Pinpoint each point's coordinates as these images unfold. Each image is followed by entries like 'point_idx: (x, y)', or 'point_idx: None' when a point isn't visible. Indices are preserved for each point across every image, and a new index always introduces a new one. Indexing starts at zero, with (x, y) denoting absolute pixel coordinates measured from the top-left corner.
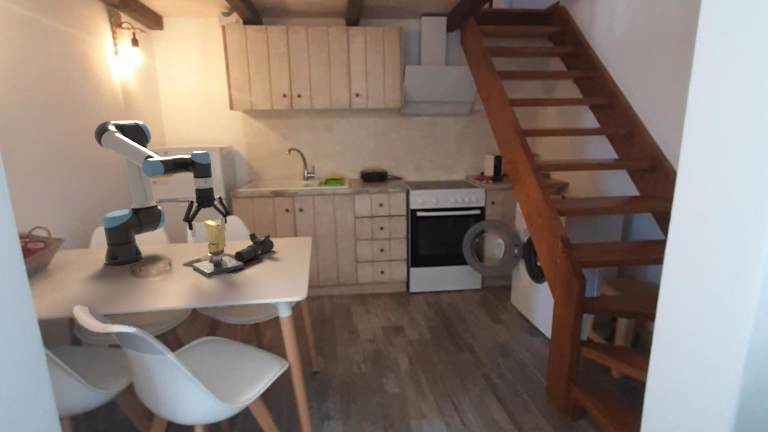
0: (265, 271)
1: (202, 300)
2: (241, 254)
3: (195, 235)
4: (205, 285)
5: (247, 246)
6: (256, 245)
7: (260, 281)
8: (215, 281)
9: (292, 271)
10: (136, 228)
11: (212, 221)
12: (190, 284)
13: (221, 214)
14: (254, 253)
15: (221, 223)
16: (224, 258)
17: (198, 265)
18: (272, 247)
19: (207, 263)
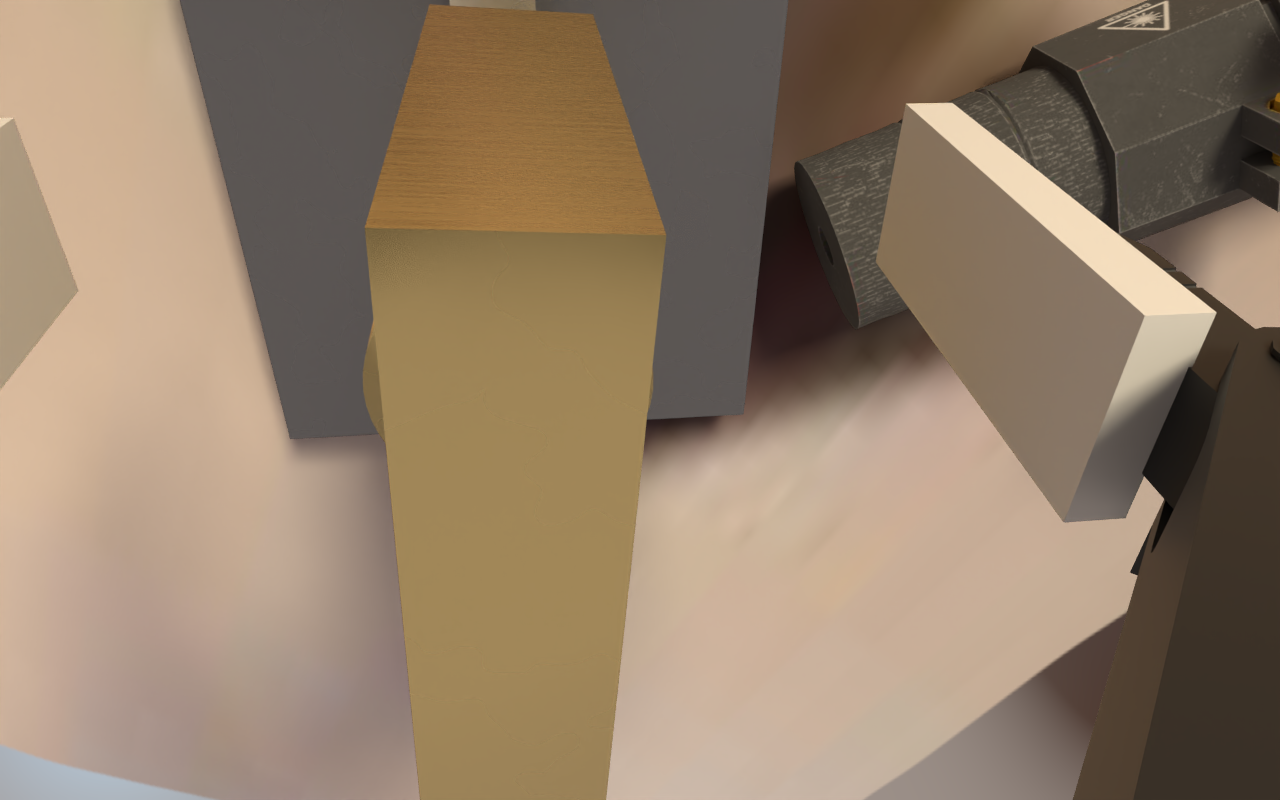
0: (802, 582)
1: (145, 772)
2: (848, 301)
3: (49, 318)
4: (224, 565)
5: (1107, 139)
6: (1205, 203)
7: (639, 715)
8: (336, 535)
9: (931, 686)
10: None
11: (642, 456)
12: (82, 465)
13: (1158, 543)
14: None
15: (995, 226)
16: (689, 46)
17: (242, 75)
18: None
19: (389, 88)
